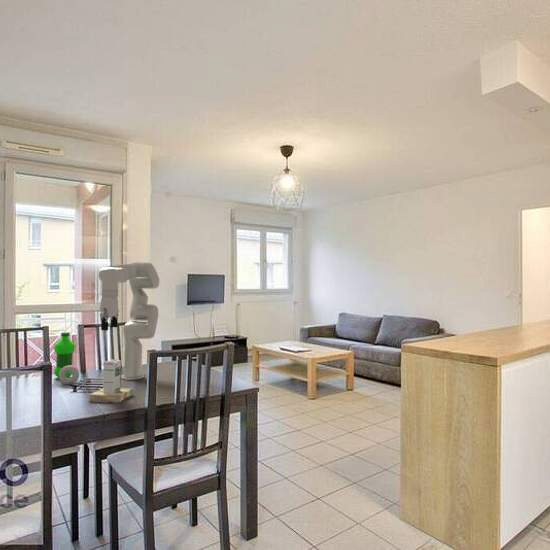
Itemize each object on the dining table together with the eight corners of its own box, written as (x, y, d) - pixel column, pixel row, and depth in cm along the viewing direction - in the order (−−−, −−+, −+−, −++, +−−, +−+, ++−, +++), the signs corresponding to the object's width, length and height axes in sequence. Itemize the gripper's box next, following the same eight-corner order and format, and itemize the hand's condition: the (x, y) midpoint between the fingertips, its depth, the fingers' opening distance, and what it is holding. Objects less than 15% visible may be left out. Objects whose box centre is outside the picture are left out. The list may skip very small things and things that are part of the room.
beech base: (104, 393, 204) (105, 387, 204) (132, 394, 202) (132, 388, 202) (89, 401, 190) (89, 394, 190) (118, 403, 188) (119, 396, 188)
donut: (80, 383, 220) (80, 364, 221) (77, 385, 217) (78, 365, 217) (59, 383, 219) (60, 364, 219) (57, 385, 216) (58, 366, 216)
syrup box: (114, 393, 193) (115, 362, 193) (102, 392, 194) (103, 361, 194) (120, 390, 198) (121, 359, 198) (109, 389, 199) (110, 359, 199)
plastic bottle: (68, 374, 239) (70, 331, 240) (77, 377, 233) (78, 332, 233) (50, 377, 232) (51, 332, 232) (59, 380, 225) (60, 334, 225)
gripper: (110, 292, 212) (110, 325, 213) (93, 294, 195) (93, 331, 196) (125, 292, 212) (124, 326, 212) (109, 295, 195) (108, 331, 195)
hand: (109, 328), depth 204 cm, fingers open, 9 cm apart
